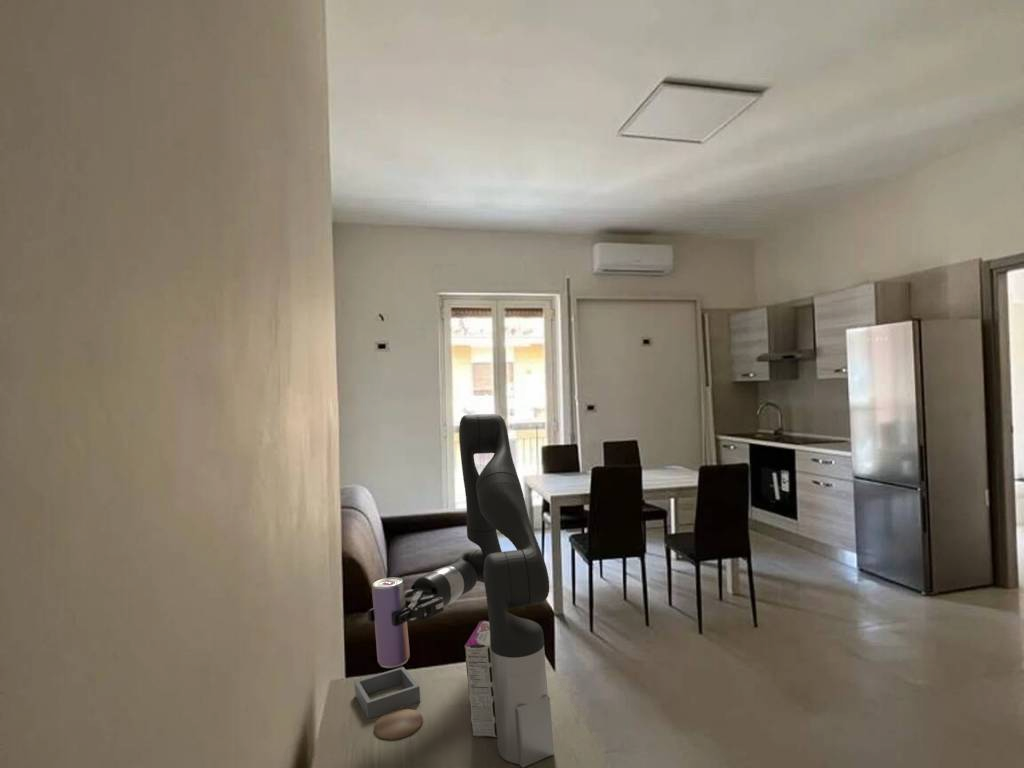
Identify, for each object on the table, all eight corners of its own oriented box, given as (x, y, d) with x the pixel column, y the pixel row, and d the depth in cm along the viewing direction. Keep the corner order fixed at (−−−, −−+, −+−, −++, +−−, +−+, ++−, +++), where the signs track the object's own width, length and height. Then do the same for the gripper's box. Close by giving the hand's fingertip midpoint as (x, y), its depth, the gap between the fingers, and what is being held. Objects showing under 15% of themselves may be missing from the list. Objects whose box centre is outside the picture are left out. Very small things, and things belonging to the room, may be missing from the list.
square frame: (420, 701, 114) (419, 686, 114) (368, 718, 109) (367, 703, 109) (404, 680, 123) (403, 666, 123) (355, 695, 118) (354, 681, 118)
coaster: (429, 728, 104) (429, 725, 104) (381, 745, 99) (381, 742, 100) (413, 706, 112) (413, 704, 112) (368, 722, 107) (368, 719, 107)
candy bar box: (485, 703, 111) (479, 620, 111) (510, 704, 110) (504, 620, 110) (470, 737, 100) (463, 644, 100) (497, 739, 99) (490, 645, 100)
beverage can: (393, 672, 102) (387, 589, 103) (371, 665, 105) (364, 585, 106) (416, 657, 107) (410, 578, 107) (394, 652, 110) (388, 575, 111)
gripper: (411, 568, 123) (352, 594, 108) (464, 574, 115) (409, 603, 101) (413, 602, 122) (355, 633, 108) (467, 611, 115) (412, 645, 100)
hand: (381, 618), depth 104 cm, fingers closed on beverage can, 5 cm apart
